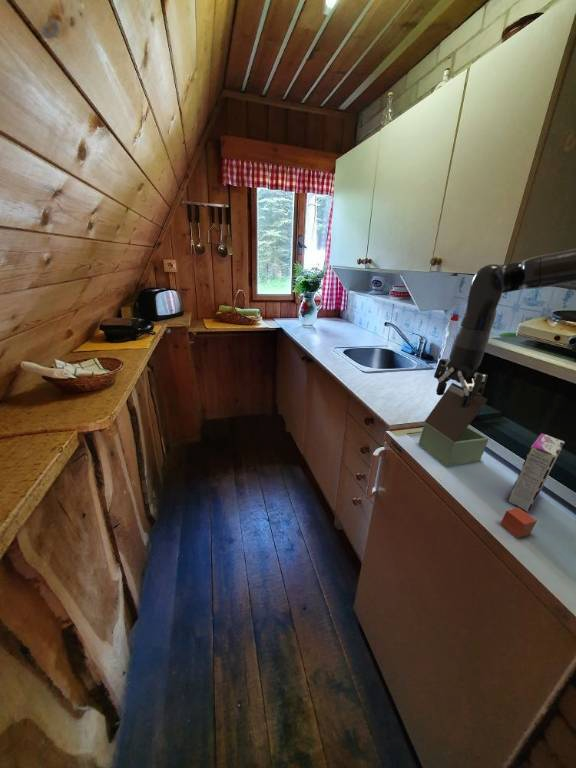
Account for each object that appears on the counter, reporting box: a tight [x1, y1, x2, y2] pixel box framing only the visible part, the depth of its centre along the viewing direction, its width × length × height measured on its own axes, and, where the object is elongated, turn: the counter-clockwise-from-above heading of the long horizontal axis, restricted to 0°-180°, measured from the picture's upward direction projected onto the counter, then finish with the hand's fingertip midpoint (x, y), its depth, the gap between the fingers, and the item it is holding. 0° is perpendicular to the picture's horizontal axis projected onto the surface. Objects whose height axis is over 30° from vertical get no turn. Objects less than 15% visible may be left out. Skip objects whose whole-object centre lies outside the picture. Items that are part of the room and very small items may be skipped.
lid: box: [424, 382, 488, 442], centre depth 88 cm, size 14×12×5 cm
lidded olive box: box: [417, 422, 490, 467], centre depth 94 cm, size 14×12×8 cm
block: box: [500, 506, 538, 539], centre depth 67 cm, size 4×4×4 cm
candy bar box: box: [507, 433, 565, 513], centre depth 76 cm, size 11×5×16 cm, turn 131°
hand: (451, 400), depth 87 cm, fingers open, 8 cm apart
